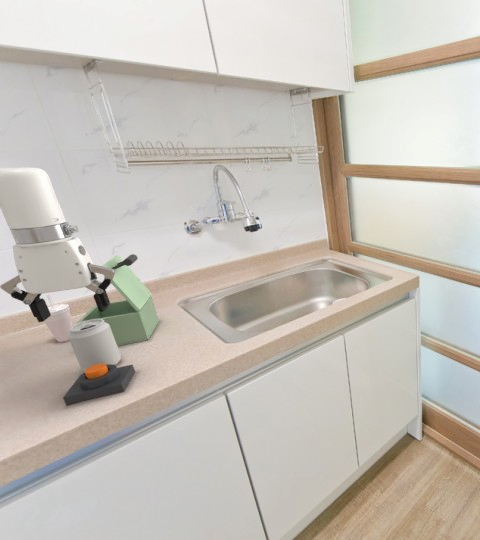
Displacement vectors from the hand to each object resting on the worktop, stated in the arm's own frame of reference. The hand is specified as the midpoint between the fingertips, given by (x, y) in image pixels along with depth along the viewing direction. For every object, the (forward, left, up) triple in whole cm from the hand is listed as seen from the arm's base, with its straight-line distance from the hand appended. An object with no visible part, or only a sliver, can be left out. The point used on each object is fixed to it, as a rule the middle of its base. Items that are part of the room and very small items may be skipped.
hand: (75, 314), depth 69 cm
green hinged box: (-3, +27, -19) cm, 33 cm away
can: (-3, +10, -19) cm, 22 cm away
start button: (0, 0, -15) cm, 15 cm away
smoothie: (-19, +33, -19) cm, 42 cm away
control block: (0, 0, -19) cm, 19 cm away
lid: (+1, +27, -3) cm, 27 cm away
